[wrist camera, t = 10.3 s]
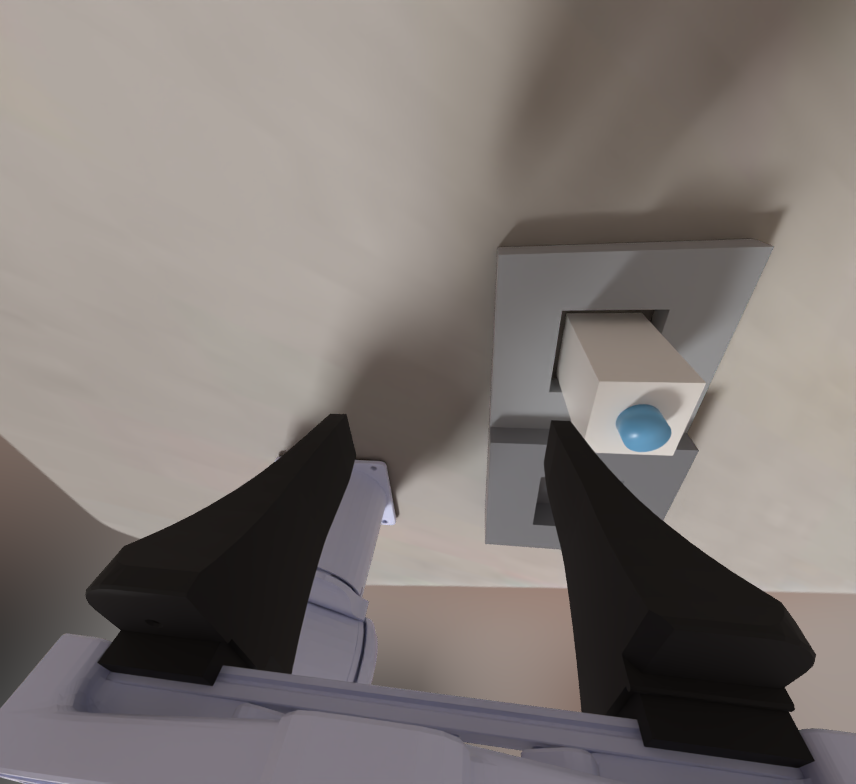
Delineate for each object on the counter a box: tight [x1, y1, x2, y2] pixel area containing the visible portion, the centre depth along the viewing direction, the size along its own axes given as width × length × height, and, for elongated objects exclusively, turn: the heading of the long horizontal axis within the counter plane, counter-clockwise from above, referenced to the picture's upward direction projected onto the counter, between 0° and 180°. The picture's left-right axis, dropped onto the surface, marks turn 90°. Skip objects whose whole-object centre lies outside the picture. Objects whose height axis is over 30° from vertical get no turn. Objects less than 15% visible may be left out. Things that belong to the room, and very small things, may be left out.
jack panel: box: [485, 239, 774, 549], centre depth 23 cm, size 12×22×3 cm, turn 4°
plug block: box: [556, 313, 706, 456], centre depth 18 cm, size 4×4×8 cm
